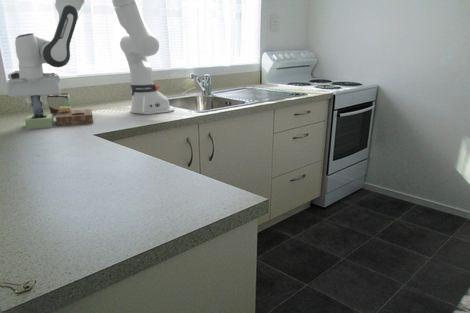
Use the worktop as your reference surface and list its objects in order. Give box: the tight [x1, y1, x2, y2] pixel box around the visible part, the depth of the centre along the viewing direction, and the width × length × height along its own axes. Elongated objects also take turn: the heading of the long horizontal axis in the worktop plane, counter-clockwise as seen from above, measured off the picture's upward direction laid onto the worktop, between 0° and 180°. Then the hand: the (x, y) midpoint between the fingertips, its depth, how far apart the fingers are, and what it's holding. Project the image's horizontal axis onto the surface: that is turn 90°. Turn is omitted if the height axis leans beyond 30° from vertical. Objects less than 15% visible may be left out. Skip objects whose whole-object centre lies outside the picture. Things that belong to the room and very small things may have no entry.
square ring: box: [24, 113, 54, 130], centre depth 165 cm, size 10×10×4 cm
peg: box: [29, 95, 45, 119], centre depth 163 cm, size 4×4×12 cm
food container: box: [46, 92, 71, 115], centre depth 192 cm, size 12×6×10 cm, turn 84°
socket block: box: [55, 108, 94, 127], centre depth 173 cm, size 15×15×4 cm
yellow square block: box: [59, 105, 72, 113], centre depth 175 cm, size 5×5×5 cm
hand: (37, 105), depth 163 cm, fingers closed on peg, 4 cm apart
